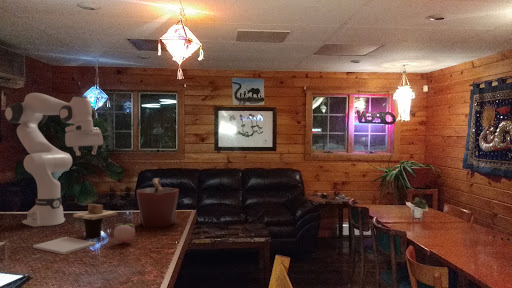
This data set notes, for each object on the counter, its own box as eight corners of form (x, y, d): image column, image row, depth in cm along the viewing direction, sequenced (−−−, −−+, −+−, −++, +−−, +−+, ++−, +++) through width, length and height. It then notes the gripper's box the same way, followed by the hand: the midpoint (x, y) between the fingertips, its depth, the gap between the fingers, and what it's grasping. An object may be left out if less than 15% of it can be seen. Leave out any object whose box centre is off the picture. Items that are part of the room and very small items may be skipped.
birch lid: (72, 216, 185) (72, 205, 185) (97, 211, 197) (97, 201, 197) (93, 219, 178) (93, 208, 178) (117, 214, 191) (117, 203, 191)
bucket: (170, 229, 202) (170, 181, 201) (128, 228, 203) (128, 180, 202) (181, 219, 227) (181, 176, 226) (143, 218, 227) (143, 175, 227)
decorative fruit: (112, 247, 170) (112, 224, 170) (114, 242, 178) (114, 220, 178) (135, 245, 173) (135, 223, 172) (135, 240, 181) (135, 219, 180)
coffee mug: (96, 239, 181) (96, 218, 181) (79, 238, 183) (79, 217, 183) (110, 233, 193) (110, 213, 193) (94, 232, 195) (94, 212, 194)
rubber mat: (33, 247, 169) (33, 245, 169) (65, 238, 183) (65, 236, 183) (63, 254, 159) (63, 252, 159) (96, 244, 174) (96, 242, 174)
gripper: (96, 128, 208) (98, 154, 208) (62, 128, 190) (64, 156, 190) (104, 127, 205) (107, 153, 205) (70, 126, 187) (73, 155, 187)
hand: (86, 154), depth 197 cm, fingers open, 8 cm apart
